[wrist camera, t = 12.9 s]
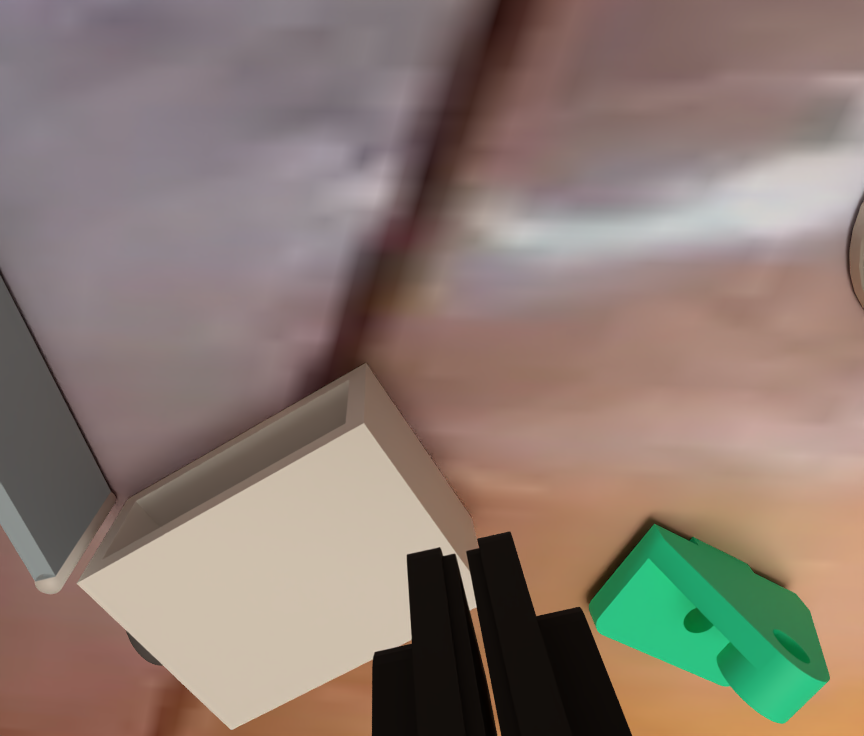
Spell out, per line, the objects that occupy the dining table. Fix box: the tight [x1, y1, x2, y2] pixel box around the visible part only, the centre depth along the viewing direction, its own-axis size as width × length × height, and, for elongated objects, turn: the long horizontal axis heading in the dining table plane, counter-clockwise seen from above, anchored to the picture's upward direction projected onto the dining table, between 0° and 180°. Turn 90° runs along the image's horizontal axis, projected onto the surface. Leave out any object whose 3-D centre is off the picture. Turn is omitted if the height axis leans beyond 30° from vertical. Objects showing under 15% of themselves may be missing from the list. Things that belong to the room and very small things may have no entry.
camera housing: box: [77, 363, 478, 730], centre depth 36 cm, size 18×12×7 cm
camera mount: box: [589, 524, 830, 724], centre depth 39 cm, size 12×8×10 cm, turn 59°
